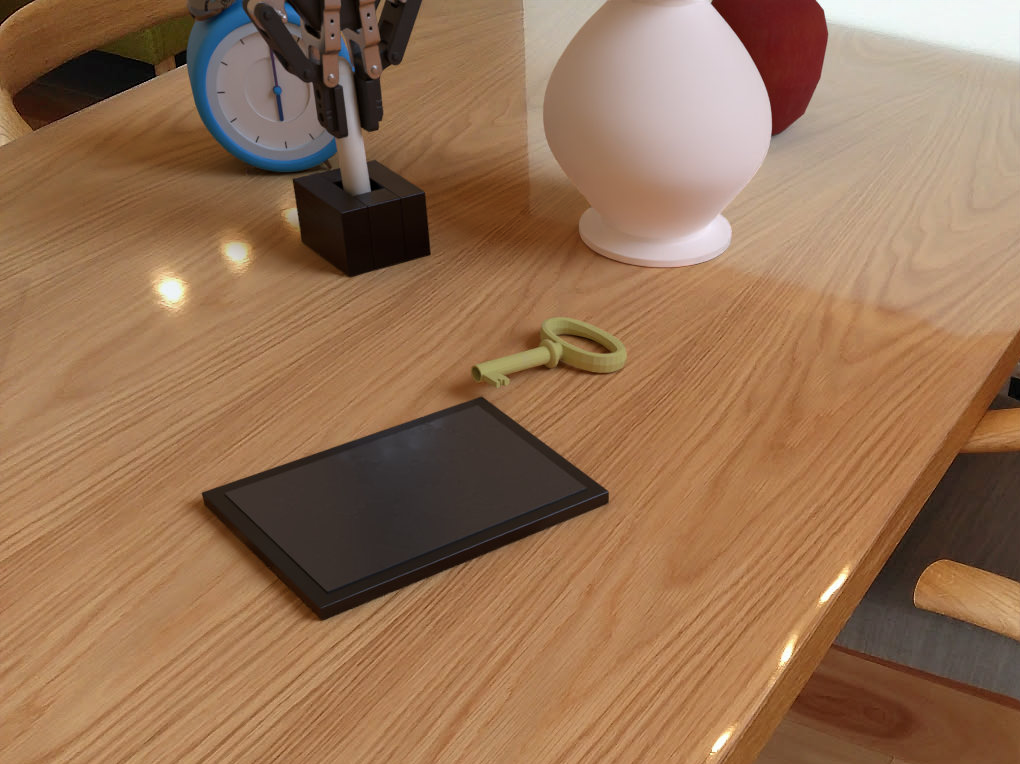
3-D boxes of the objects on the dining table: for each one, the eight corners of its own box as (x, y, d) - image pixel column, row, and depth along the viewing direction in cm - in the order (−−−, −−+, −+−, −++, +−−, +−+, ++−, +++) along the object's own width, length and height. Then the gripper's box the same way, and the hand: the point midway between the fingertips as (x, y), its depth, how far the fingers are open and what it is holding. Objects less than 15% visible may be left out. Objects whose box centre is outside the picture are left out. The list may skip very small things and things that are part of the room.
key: (465, 395, 99) (463, 367, 97) (559, 324, 107) (559, 297, 106) (556, 426, 97) (556, 397, 96) (645, 351, 105) (645, 324, 104)
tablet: (322, 621, 81) (319, 606, 80) (203, 504, 88) (200, 490, 87) (609, 503, 91) (609, 489, 90) (482, 407, 98) (481, 394, 97)
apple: (735, 95, 144) (744, -54, 134) (840, 123, 140) (856, -28, 131) (673, 131, 136) (678, -25, 127) (783, 162, 132) (796, 4, 123)
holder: (349, 277, 110) (341, 212, 106) (301, 242, 114) (291, 178, 110) (431, 254, 114) (425, 191, 110) (382, 221, 117) (375, 159, 114)
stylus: (361, 255, 113) (330, 61, 103) (348, 247, 114) (316, 55, 105) (384, 249, 114) (355, 56, 104) (371, 242, 115) (341, 50, 106)
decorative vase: (536, 189, 124) (525, -148, 107) (740, 187, 127) (761, -139, 110) (558, 285, 112) (549, -79, 94) (783, 280, 115) (814, -71, 98)
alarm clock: (209, 181, 120) (171, -16, 110) (203, 152, 124) (166, -41, 114) (370, 171, 124) (348, -21, 114) (358, 143, 128) (336, -45, 118)
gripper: (381, -160, 101) (405, 98, 113) (194, -141, 94) (241, 132, 106) (441, -134, 97) (459, 130, 109) (250, -112, 90) (292, 168, 102)
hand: (352, 130), depth 107 cm, fingers closed on stylus, 2 cm apart
